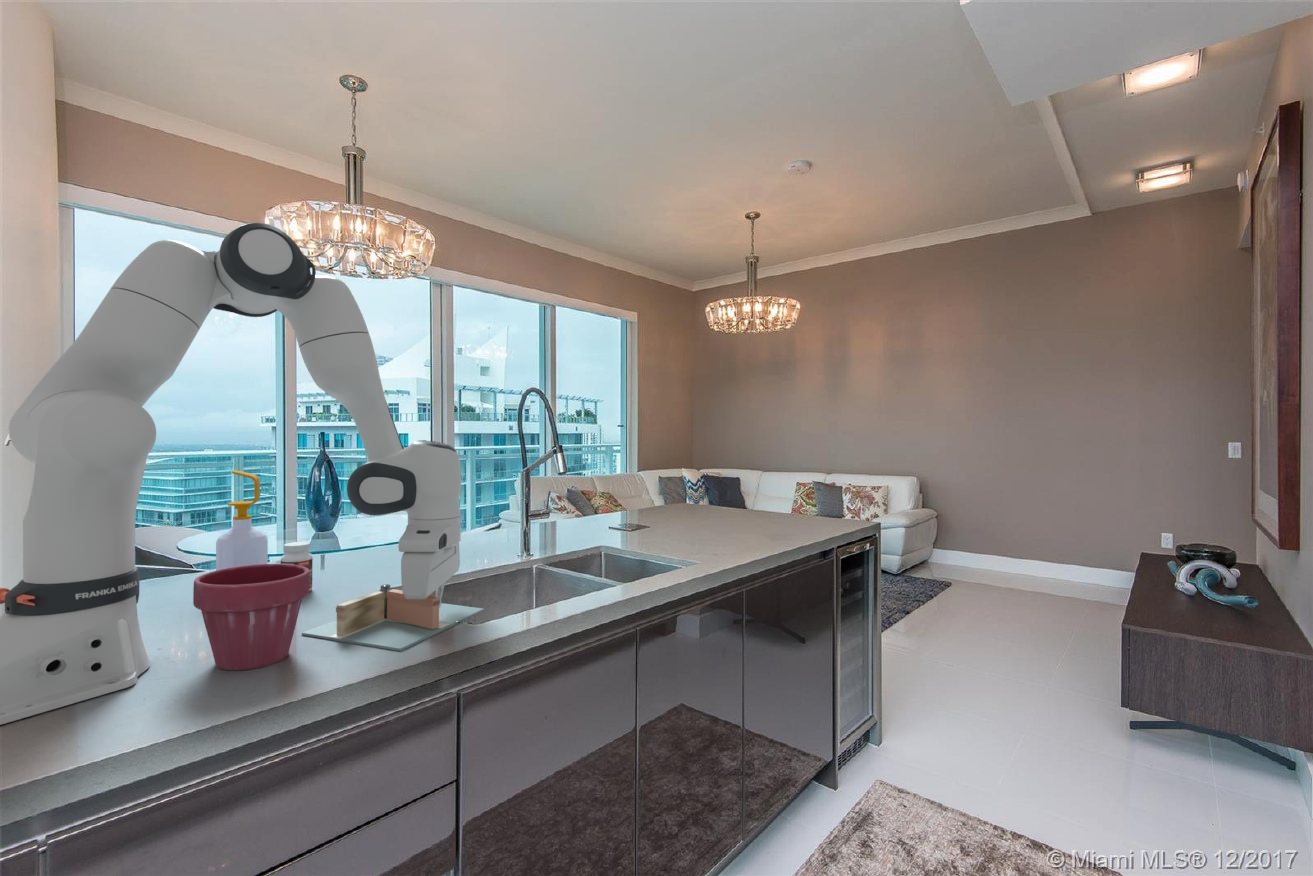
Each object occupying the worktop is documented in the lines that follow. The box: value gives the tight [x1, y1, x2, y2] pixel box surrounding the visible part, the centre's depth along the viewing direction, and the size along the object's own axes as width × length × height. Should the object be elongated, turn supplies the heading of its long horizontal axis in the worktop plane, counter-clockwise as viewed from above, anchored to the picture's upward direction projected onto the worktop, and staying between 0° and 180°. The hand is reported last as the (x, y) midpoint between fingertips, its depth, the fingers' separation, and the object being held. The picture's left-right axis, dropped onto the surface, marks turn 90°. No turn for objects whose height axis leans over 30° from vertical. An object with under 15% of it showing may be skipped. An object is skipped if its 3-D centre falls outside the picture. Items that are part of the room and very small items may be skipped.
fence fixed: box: [335, 590, 385, 636], centre depth 104 cm, size 9×2×5 cm, turn 162°
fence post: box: [380, 583, 391, 619], centre depth 109 cm, size 2×2×6 cm
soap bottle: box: [215, 469, 269, 571], centre depth 129 cm, size 9×9×25 cm
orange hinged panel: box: [386, 588, 440, 629], centre depth 106 cm, size 11×2×5 cm, turn 64°
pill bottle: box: [280, 541, 314, 592], centre depth 126 cm, size 6×6×10 cm
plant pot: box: [192, 563, 310, 671], centre depth 90 cm, size 14×14×13 cm
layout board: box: [301, 602, 485, 652], centre depth 108 cm, size 22×20×1 cm
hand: (433, 610), depth 108 cm, fingers closed
